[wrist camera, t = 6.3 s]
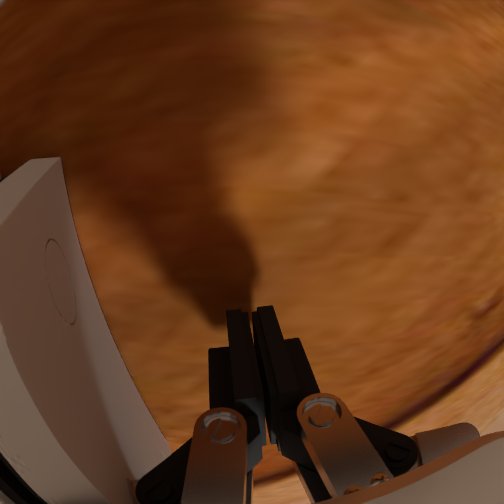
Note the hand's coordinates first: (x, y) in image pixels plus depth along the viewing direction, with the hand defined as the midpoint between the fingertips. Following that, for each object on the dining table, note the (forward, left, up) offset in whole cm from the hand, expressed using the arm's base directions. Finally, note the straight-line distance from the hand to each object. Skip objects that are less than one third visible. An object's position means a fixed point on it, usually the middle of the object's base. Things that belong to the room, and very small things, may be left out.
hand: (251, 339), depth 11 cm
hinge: (+7, +1, -1) cm, 7 cm away
